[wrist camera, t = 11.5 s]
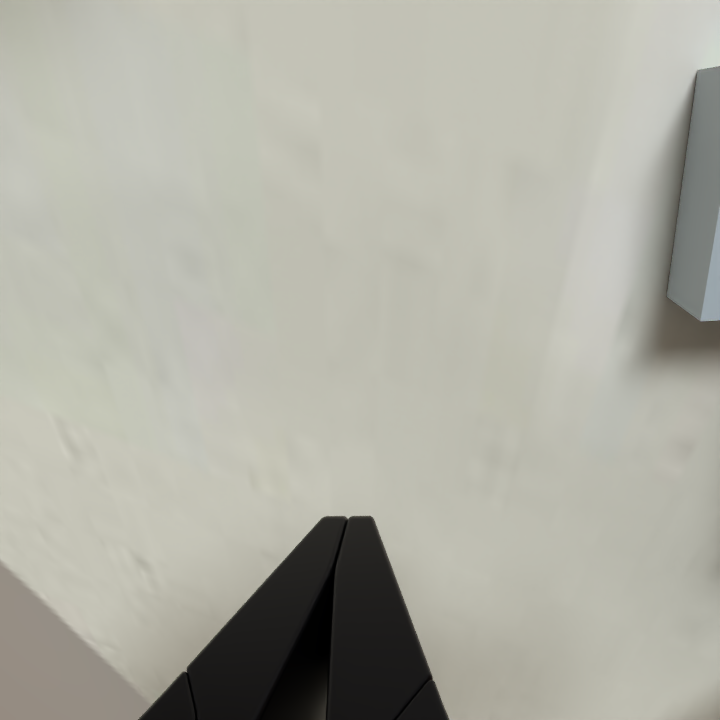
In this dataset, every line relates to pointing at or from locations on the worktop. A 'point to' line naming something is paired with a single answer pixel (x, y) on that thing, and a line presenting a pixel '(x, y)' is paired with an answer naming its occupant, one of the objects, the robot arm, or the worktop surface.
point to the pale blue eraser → (700, 208)
